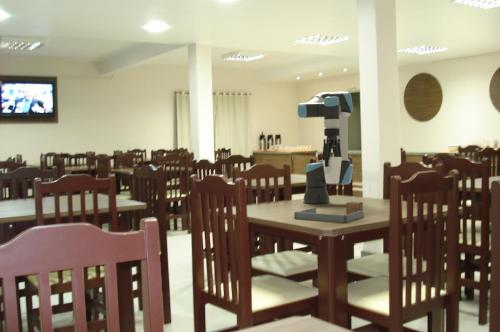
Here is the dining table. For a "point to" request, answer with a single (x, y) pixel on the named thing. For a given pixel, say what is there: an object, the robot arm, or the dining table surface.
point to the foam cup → (333, 170)
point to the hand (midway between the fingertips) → (332, 172)
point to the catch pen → (326, 216)
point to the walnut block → (353, 207)
